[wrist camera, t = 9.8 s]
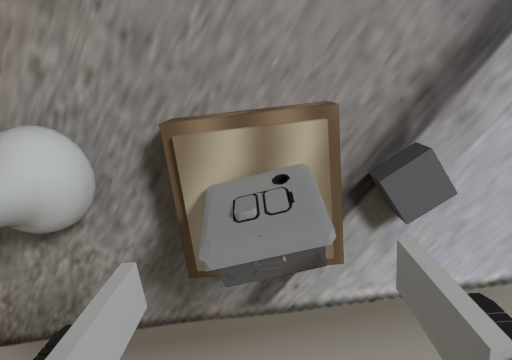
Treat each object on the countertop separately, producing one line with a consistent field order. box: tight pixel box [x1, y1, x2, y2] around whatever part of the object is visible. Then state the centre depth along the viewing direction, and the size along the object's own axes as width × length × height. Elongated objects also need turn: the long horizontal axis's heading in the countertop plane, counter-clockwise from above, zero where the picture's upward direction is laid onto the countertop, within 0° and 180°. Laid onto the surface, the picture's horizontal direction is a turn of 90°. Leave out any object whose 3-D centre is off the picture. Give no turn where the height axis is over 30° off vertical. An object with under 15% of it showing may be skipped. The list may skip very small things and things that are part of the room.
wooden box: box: [159, 101, 344, 278], centre depth 28 cm, size 14×14×5 cm
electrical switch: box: [199, 164, 336, 287], centre depth 22 cm, size 8×5×8 cm, turn 104°
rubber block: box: [369, 142, 458, 224], centre depth 29 cm, size 5×5×3 cm
